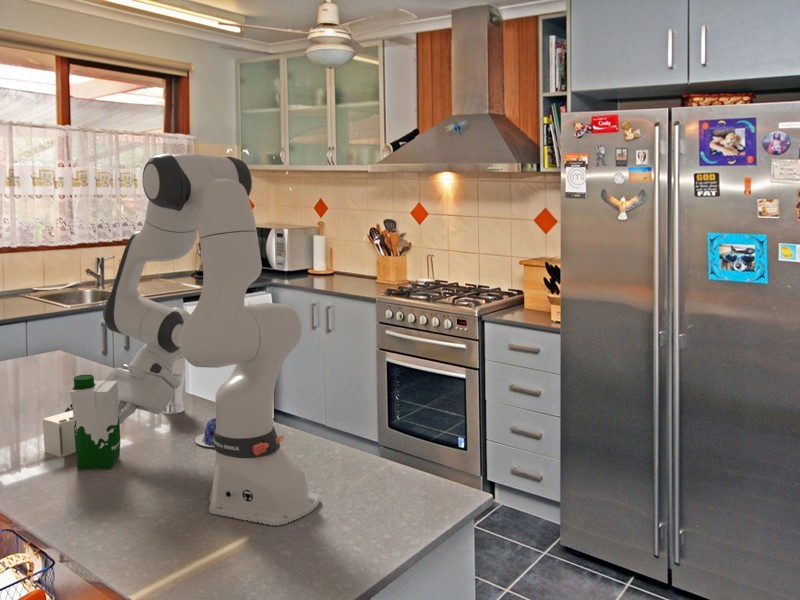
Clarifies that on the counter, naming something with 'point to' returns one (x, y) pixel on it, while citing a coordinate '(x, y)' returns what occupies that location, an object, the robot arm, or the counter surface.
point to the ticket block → (59, 434)
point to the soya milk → (95, 422)
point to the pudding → (207, 434)
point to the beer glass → (176, 401)
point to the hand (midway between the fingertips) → (115, 421)
